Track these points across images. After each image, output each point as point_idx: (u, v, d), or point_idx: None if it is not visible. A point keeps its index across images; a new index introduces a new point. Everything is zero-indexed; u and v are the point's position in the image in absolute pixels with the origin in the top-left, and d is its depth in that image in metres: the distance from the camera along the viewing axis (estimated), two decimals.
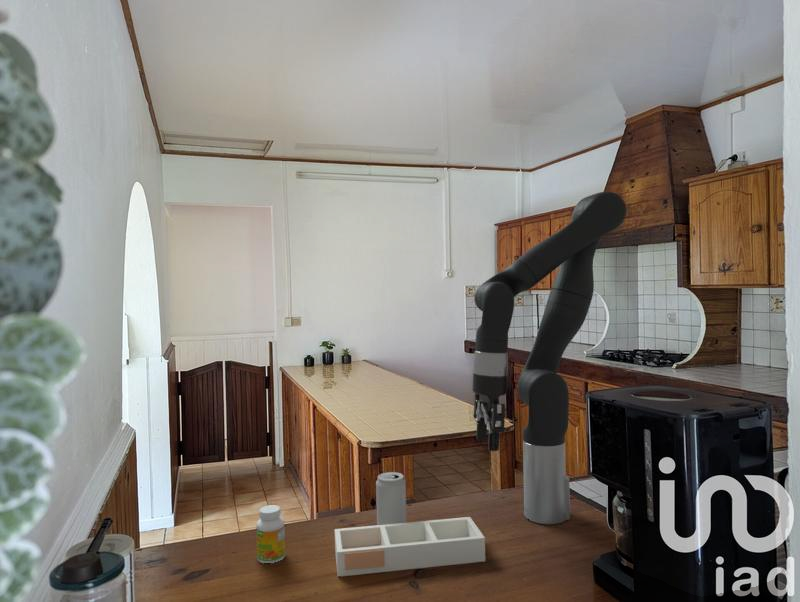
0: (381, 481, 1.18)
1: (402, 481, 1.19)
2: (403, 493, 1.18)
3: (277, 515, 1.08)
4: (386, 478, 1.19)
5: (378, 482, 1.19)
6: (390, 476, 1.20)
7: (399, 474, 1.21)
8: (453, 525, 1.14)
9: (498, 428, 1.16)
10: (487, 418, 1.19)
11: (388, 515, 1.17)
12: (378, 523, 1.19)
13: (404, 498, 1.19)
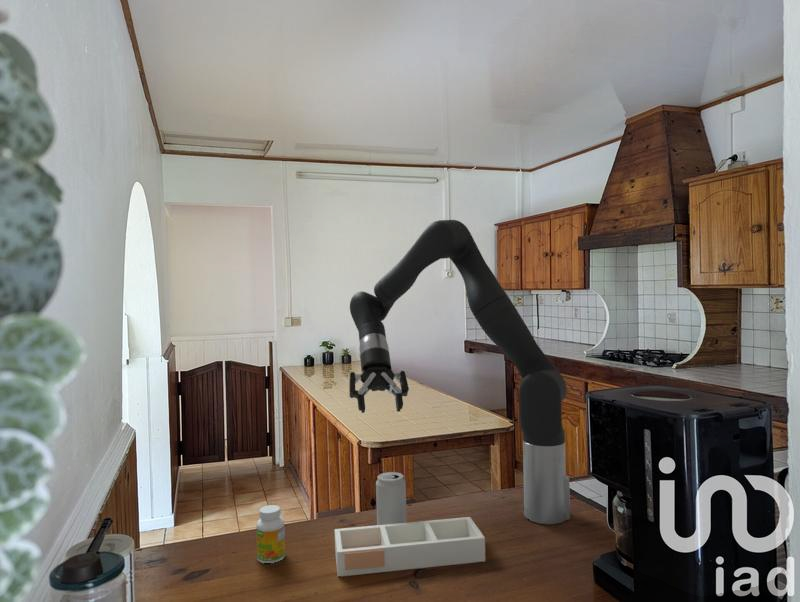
0: (381, 481, 1.18)
1: (402, 481, 1.19)
2: (403, 493, 1.18)
3: (277, 515, 1.08)
4: (386, 478, 1.19)
5: (378, 482, 1.19)
6: (390, 476, 1.20)
7: (399, 474, 1.21)
8: (453, 525, 1.14)
9: None
10: None
11: (388, 515, 1.17)
12: (378, 523, 1.19)
13: (404, 498, 1.19)
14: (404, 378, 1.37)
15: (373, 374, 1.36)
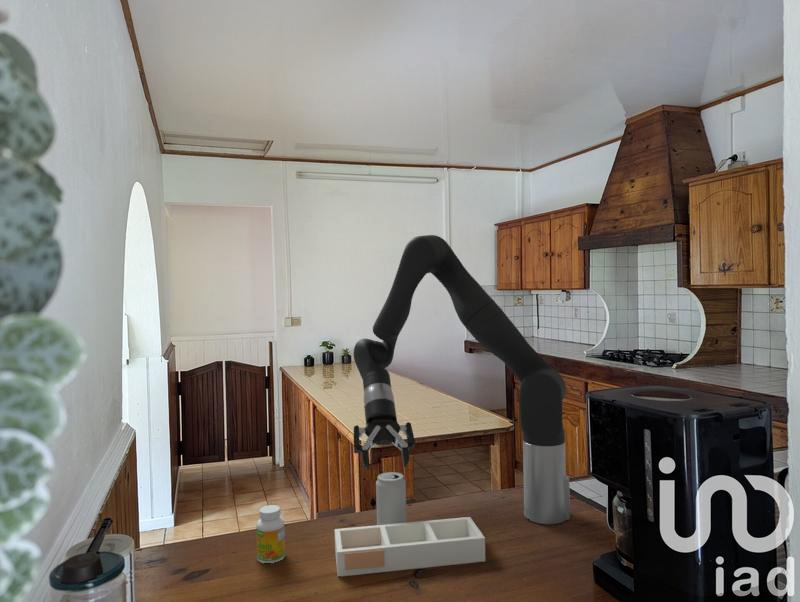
0: (381, 481, 1.18)
1: (402, 481, 1.19)
2: (403, 493, 1.18)
3: (277, 515, 1.08)
4: (386, 478, 1.19)
5: (378, 482, 1.19)
6: (390, 476, 1.20)
7: (399, 474, 1.21)
8: (453, 525, 1.14)
9: None
10: None
11: (388, 515, 1.17)
12: (378, 523, 1.19)
13: (404, 498, 1.19)
14: (410, 430, 1.32)
15: (378, 427, 1.31)
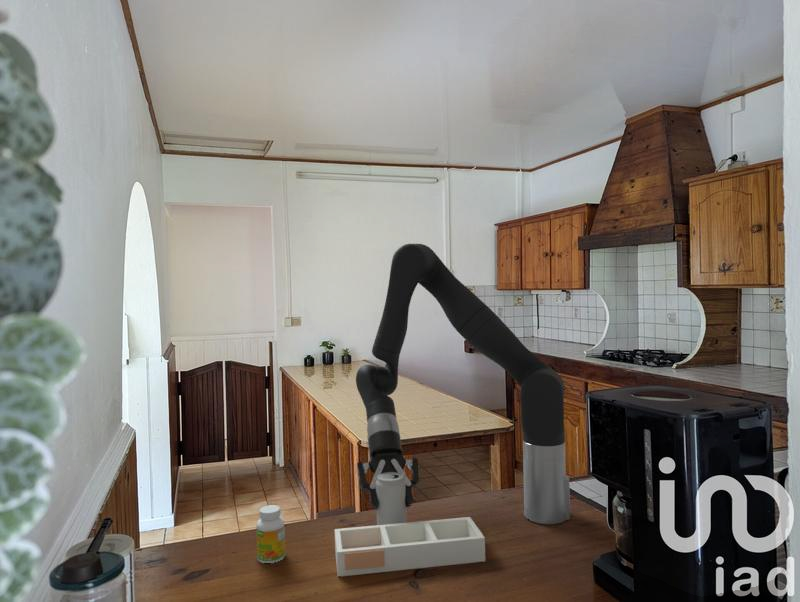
0: (381, 481, 1.18)
1: (402, 481, 1.19)
2: (403, 493, 1.18)
3: (277, 515, 1.08)
4: (386, 478, 1.19)
5: (378, 482, 1.19)
6: (390, 476, 1.20)
7: (399, 474, 1.21)
8: (453, 525, 1.14)
9: None
10: None
11: (388, 515, 1.17)
12: (378, 523, 1.19)
13: (404, 498, 1.19)
14: (416, 467, 1.24)
15: (382, 462, 1.23)
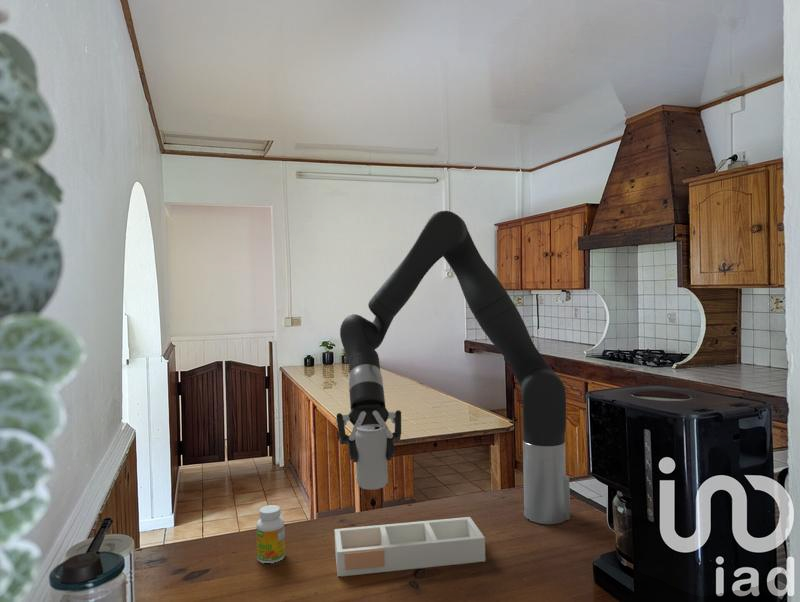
0: (360, 432, 1.11)
1: (383, 432, 1.12)
2: (384, 445, 1.11)
3: (277, 515, 1.08)
4: (366, 429, 1.12)
5: (357, 433, 1.12)
6: (370, 427, 1.13)
7: (380, 426, 1.14)
8: (453, 525, 1.14)
9: None
10: None
11: (367, 467, 1.10)
12: (357, 476, 1.12)
13: (385, 450, 1.12)
14: (399, 419, 1.17)
15: (363, 413, 1.16)
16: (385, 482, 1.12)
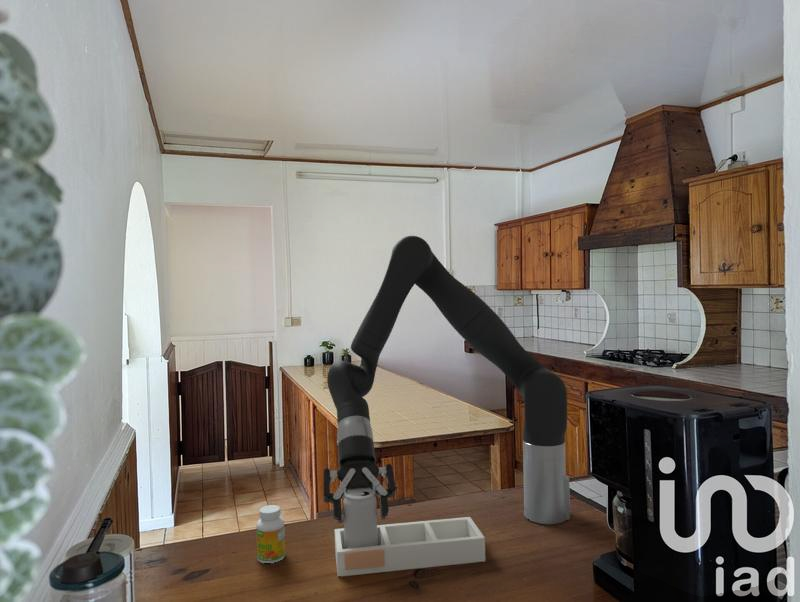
0: (348, 499, 1.05)
1: (372, 499, 1.06)
2: (373, 512, 1.06)
3: (277, 515, 1.08)
4: (354, 495, 1.06)
5: (345, 500, 1.06)
6: (359, 493, 1.07)
7: (370, 490, 1.08)
8: (453, 525, 1.14)
9: None
10: None
11: (356, 537, 1.04)
12: (345, 546, 1.06)
13: (374, 518, 1.06)
14: (391, 474, 1.11)
15: (352, 471, 1.10)
16: None
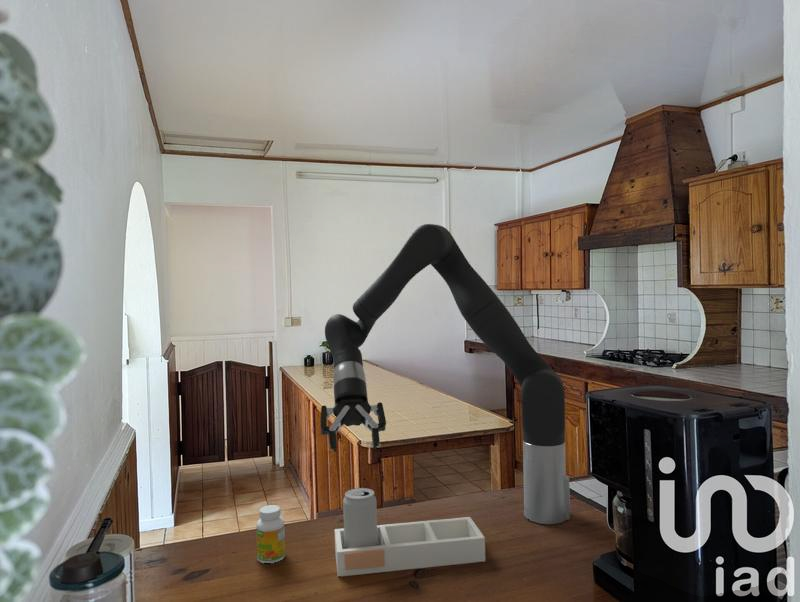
0: (348, 499, 1.05)
1: (372, 499, 1.06)
2: (373, 512, 1.06)
3: (277, 515, 1.08)
4: (354, 495, 1.06)
5: (345, 500, 1.06)
6: (359, 493, 1.07)
7: (369, 490, 1.08)
8: (453, 525, 1.14)
9: None
10: None
11: (356, 537, 1.04)
12: (345, 546, 1.06)
13: (374, 518, 1.06)
14: (381, 411, 1.24)
15: (346, 407, 1.23)
16: None
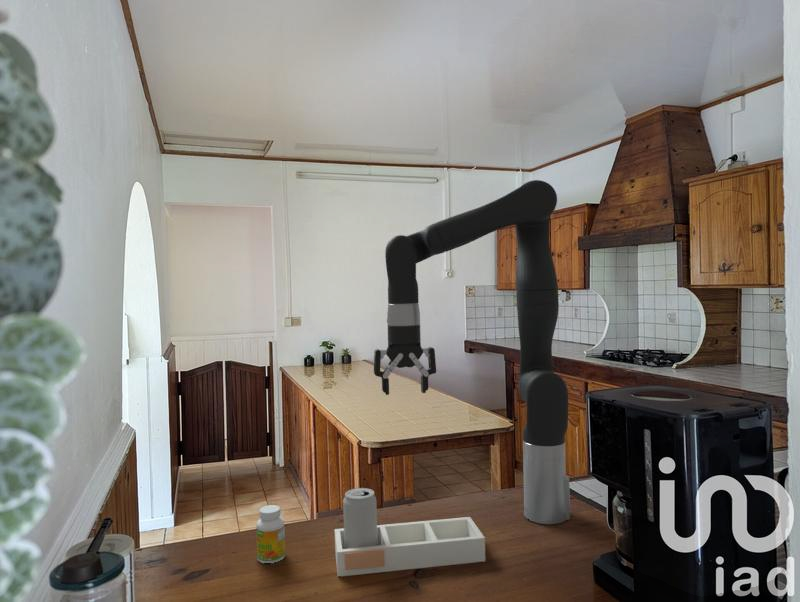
0: (348, 499, 1.05)
1: (372, 499, 1.06)
2: (373, 512, 1.06)
3: (277, 515, 1.08)
4: (354, 495, 1.06)
5: (345, 500, 1.06)
6: (359, 493, 1.07)
7: (369, 490, 1.08)
8: (453, 525, 1.14)
9: (374, 371, 1.27)
10: (388, 364, 1.29)
11: (356, 537, 1.04)
12: (345, 546, 1.06)
13: (374, 518, 1.06)
14: (433, 357, 1.28)
15: (400, 355, 1.26)
16: None
